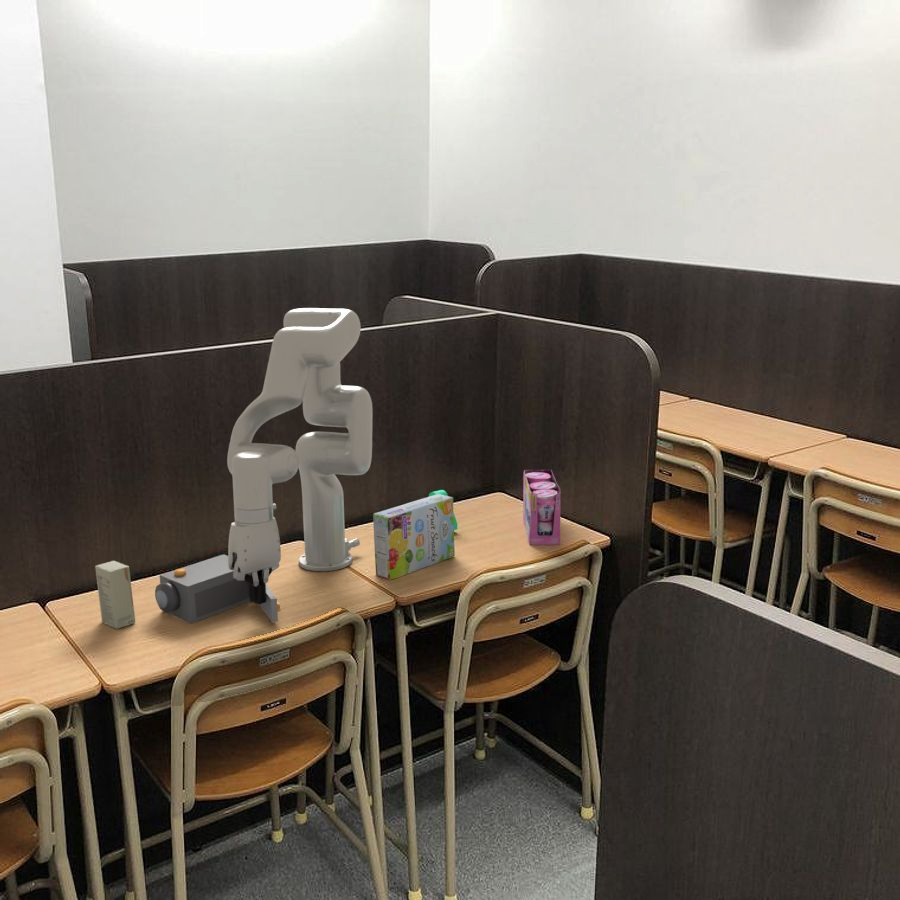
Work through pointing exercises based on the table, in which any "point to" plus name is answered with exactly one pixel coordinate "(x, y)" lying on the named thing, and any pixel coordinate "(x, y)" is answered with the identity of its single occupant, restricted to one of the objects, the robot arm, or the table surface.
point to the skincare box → (115, 594)
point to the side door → (271, 606)
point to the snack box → (413, 536)
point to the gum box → (541, 507)
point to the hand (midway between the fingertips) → (258, 601)
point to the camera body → (200, 590)
